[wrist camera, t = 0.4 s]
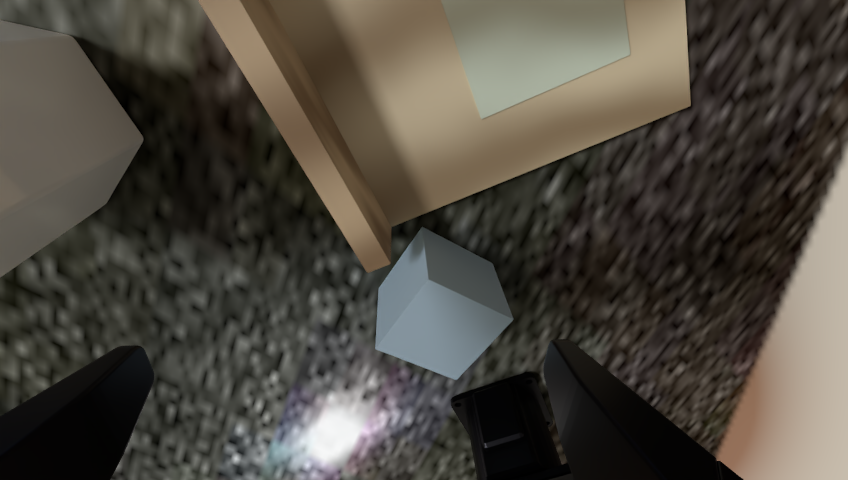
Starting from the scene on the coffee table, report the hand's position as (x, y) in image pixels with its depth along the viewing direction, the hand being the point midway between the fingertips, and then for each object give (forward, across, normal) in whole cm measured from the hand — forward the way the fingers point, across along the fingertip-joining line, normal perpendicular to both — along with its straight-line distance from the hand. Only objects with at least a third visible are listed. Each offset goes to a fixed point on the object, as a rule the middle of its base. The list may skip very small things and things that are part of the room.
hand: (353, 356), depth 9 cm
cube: (+13, -3, +7) cm, 15 cm away
